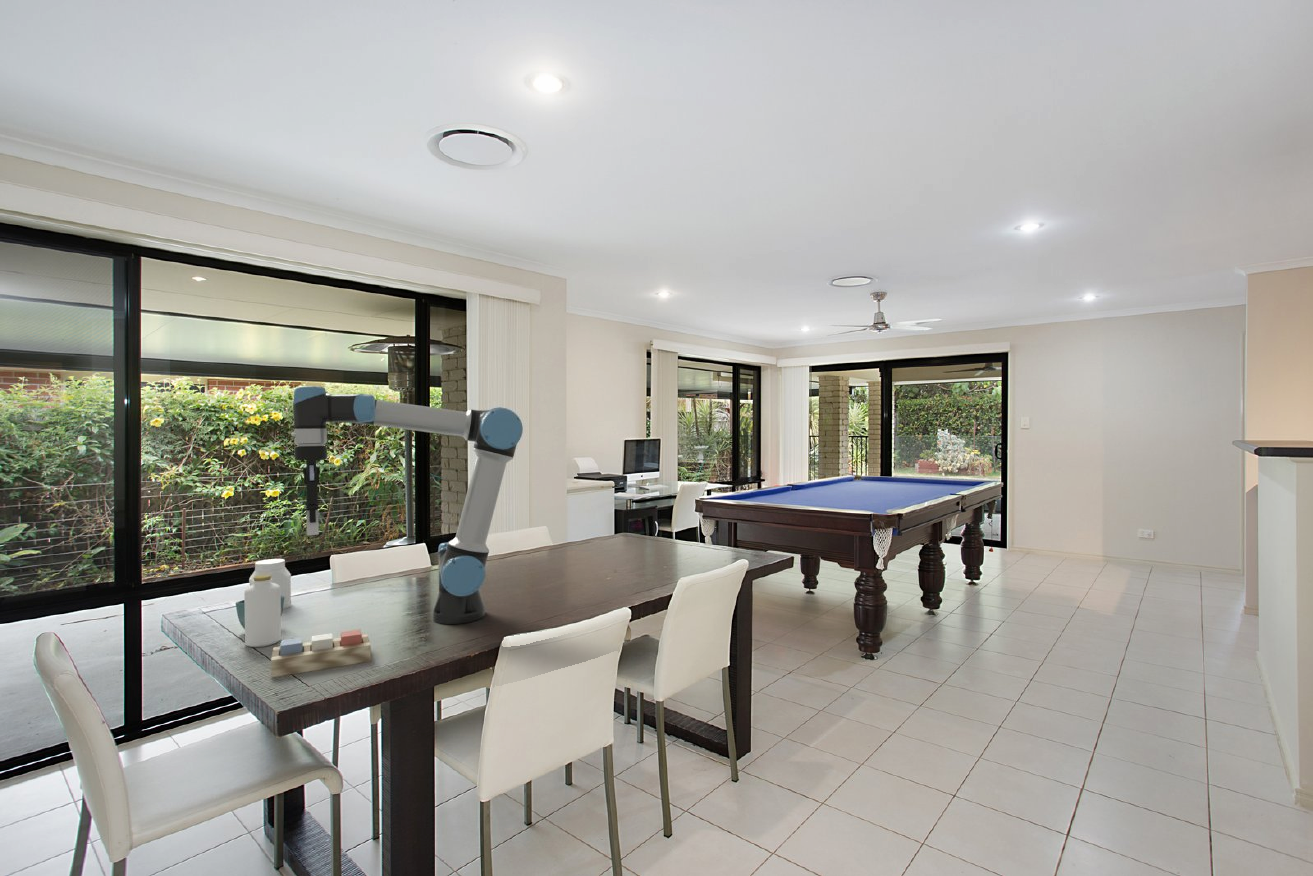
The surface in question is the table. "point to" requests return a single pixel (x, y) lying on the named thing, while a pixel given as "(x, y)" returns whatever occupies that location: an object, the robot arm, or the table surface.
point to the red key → (351, 637)
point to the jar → (275, 576)
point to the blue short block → (291, 646)
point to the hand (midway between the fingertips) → (312, 534)
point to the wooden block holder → (320, 657)
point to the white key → (322, 642)
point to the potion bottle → (262, 612)
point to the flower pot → (241, 610)
